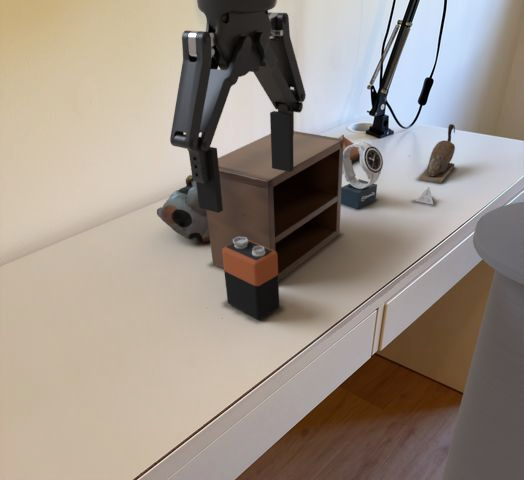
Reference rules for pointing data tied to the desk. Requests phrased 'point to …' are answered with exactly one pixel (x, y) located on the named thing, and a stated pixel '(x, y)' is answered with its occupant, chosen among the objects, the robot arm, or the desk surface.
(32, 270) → the desk surface
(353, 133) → the desk surface
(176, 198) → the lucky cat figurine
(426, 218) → the desk surface
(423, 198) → the tetrahedral die
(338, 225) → the shelf
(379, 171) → the watch
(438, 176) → the figurine
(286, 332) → the desk surface
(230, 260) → the battery
